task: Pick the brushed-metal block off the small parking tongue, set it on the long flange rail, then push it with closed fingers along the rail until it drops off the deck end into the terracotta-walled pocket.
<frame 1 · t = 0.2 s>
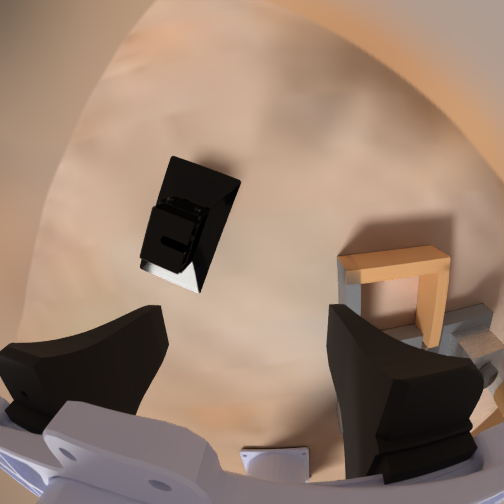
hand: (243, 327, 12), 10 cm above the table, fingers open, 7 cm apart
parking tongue: (454, 336, 22), on the table
coffee cup: (502, 364, 22), on the table
metal block: (463, 347, 20), point 2 cm above the table, touching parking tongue
black boxy piece: (187, 225, 22), on the table
flange rail: (382, 343, 23), on the table
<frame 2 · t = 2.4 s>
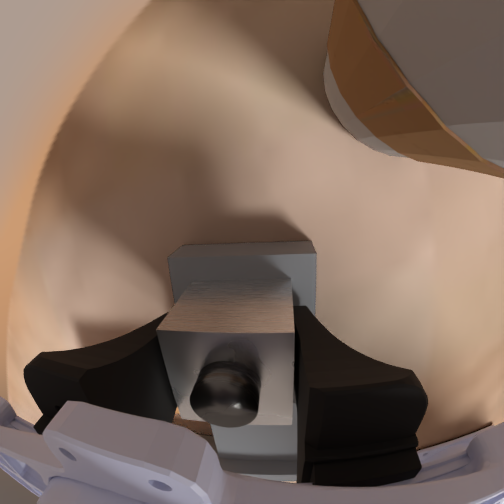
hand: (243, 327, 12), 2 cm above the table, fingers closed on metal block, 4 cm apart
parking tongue: (249, 302, 14), on the table
coffee cup: (387, 91, 11), on the table
metal block: (244, 322, 12), point 2 cm above the table, touching gripper, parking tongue
flange rail: (241, 412, 16), on the table
when the fingers open (3 cm above the table, at t = 4.8 s): metal block stays where it is, resting on flange rail.
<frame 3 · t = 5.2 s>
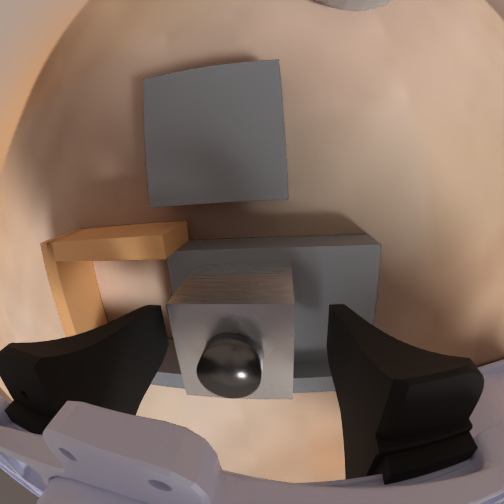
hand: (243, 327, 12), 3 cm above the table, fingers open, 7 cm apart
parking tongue: (220, 136, 13), on the table
metal block: (246, 304, 13), point 2 cm above the table, touching flange rail
flange rail: (213, 294, 15), on the table
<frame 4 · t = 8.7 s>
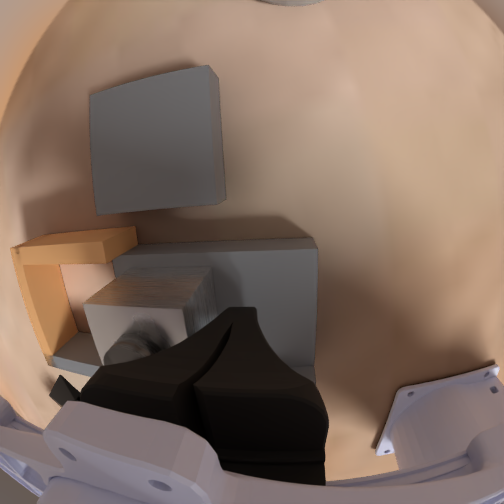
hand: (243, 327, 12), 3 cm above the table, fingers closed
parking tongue: (162, 144, 13), on the table
metal block: (175, 307, 13), point 2 cm above the table, touching gripper
black boxy piece: (95, 414, 21), on the table
flange rail: (163, 296, 15), on the table
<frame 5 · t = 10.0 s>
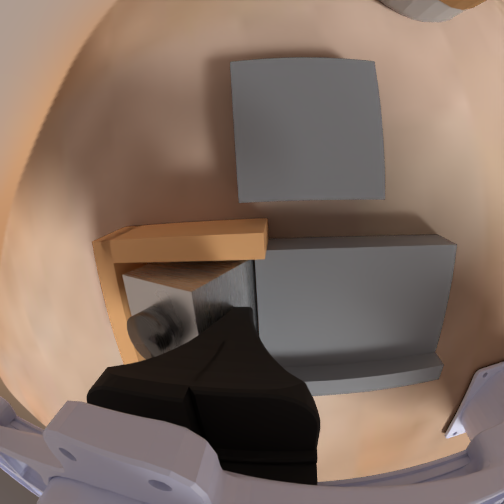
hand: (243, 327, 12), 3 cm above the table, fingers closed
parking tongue: (306, 131, 12), on the table
metal block: (220, 292, 14), point 1 cm above the table, tilted 25°, touching gripper
flange rail: (290, 295, 15), on the table
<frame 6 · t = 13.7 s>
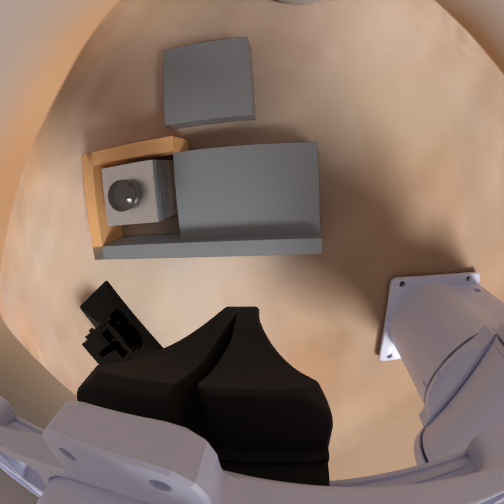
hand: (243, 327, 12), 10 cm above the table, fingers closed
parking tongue: (211, 86, 19), on the table
metal block: (153, 189, 21), resting in flange rail
black boxy piece: (125, 328, 26), on the table
flange rail: (204, 191, 21), on the table
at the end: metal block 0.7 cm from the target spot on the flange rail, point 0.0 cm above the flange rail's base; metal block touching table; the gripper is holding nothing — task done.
